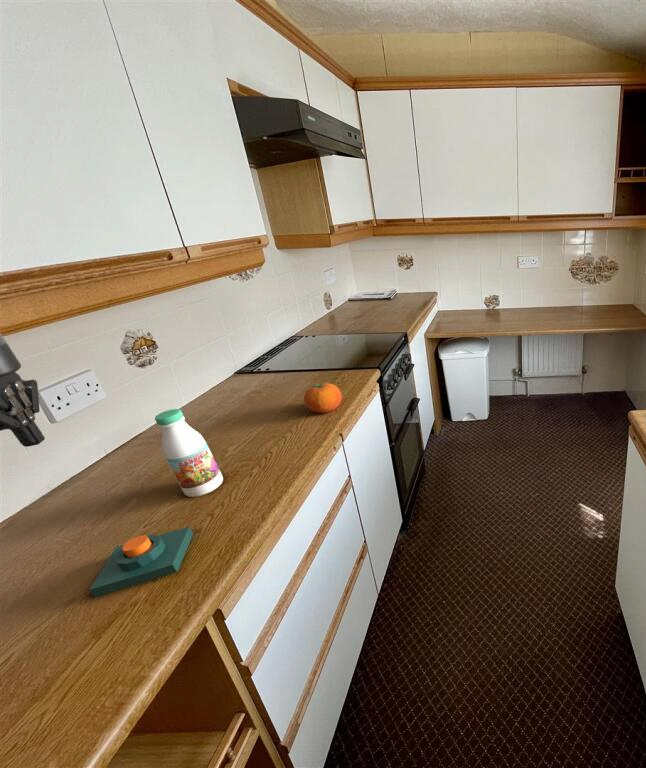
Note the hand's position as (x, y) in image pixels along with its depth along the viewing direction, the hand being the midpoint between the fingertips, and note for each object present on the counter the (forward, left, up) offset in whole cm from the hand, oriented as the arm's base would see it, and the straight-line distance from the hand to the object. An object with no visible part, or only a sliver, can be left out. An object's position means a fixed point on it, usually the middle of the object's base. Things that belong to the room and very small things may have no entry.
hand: (35, 443), depth 69 cm
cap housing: (+9, -8, -25) cm, 28 cm away
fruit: (+40, +41, -25) cm, 63 cm away
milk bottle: (+13, +14, -25) cm, 32 cm away
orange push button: (+9, -8, -21) cm, 24 cm away
